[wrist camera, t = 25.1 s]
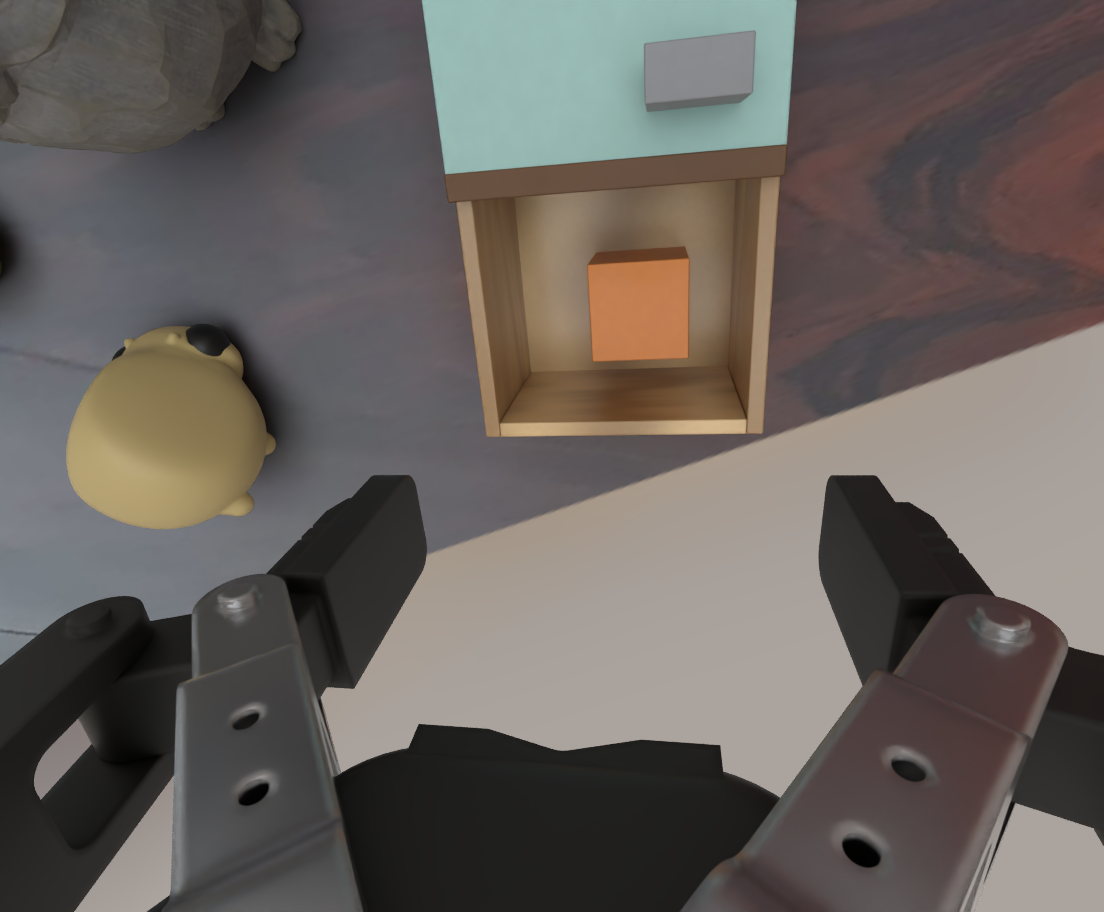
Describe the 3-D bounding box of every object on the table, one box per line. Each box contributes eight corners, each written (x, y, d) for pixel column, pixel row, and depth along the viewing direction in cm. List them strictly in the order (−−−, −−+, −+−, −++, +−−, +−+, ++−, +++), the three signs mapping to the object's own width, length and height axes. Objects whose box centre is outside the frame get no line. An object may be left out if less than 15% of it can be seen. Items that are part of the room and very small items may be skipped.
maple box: (753, 75, 29) (789, 40, 21) (739, 373, 35) (763, 434, 27) (494, 102, 31) (439, 81, 23) (522, 379, 37) (486, 437, 29)
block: (685, 335, 34) (688, 358, 29) (600, 339, 34) (592, 362, 30) (685, 245, 32) (689, 258, 28) (595, 252, 32) (586, 264, 28)
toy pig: (312, 372, 43) (198, 271, 33) (291, 540, 38) (149, 476, 28) (190, 395, 45) (49, 305, 35) (154, 558, 40) (-22, 504, 30)
